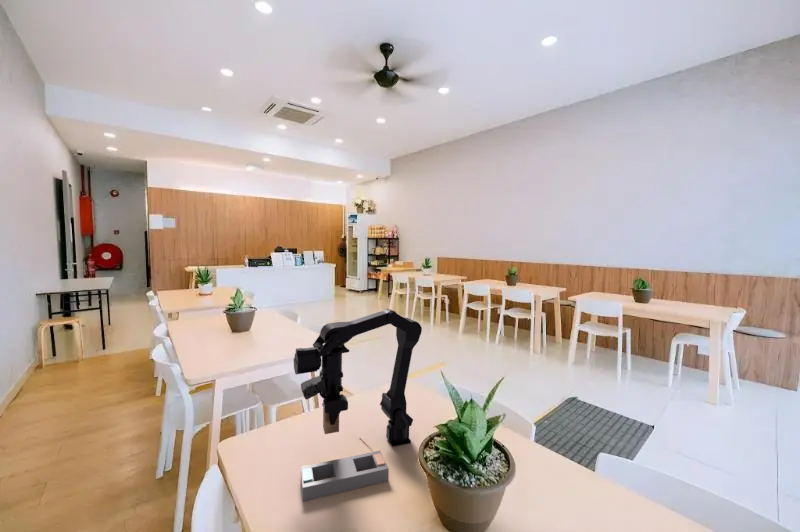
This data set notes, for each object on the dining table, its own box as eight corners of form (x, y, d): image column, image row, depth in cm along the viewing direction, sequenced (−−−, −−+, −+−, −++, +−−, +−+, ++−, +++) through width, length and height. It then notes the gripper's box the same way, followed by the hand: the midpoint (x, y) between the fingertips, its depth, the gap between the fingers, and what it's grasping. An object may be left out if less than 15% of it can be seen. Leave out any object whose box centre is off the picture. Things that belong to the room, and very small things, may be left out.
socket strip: (379, 462, 96) (380, 449, 95) (388, 480, 88) (388, 467, 88) (300, 479, 88) (300, 465, 88) (302, 501, 80) (302, 486, 80)
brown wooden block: (336, 424, 99) (337, 398, 98) (338, 431, 95) (339, 404, 94) (323, 426, 97) (323, 400, 97) (324, 434, 93) (325, 406, 93)
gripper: (300, 360, 101) (300, 409, 102) (305, 385, 83) (304, 444, 84) (337, 356, 105) (336, 404, 106) (348, 379, 87) (348, 436, 88)
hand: (331, 420), depth 96 cm, fingers closed on brown wooden block, 4 cm apart
